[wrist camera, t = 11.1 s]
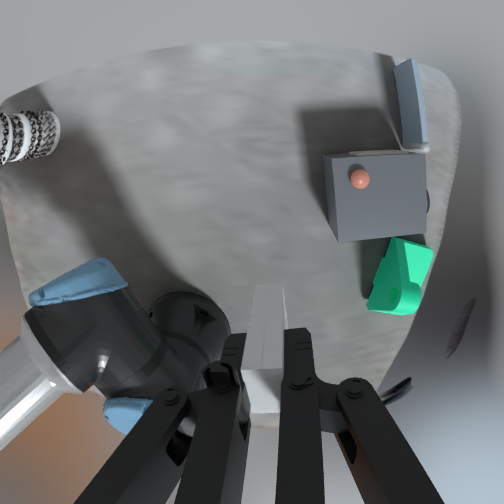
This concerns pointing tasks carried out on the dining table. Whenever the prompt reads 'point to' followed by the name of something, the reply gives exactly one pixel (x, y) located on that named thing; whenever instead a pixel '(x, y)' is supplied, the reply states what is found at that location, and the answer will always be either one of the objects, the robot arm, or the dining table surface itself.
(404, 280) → the camera mount
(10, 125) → the decorative candle
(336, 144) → the dining table surface
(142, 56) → the dining table surface
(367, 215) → the housing
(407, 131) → the side door
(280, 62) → the dining table surface
